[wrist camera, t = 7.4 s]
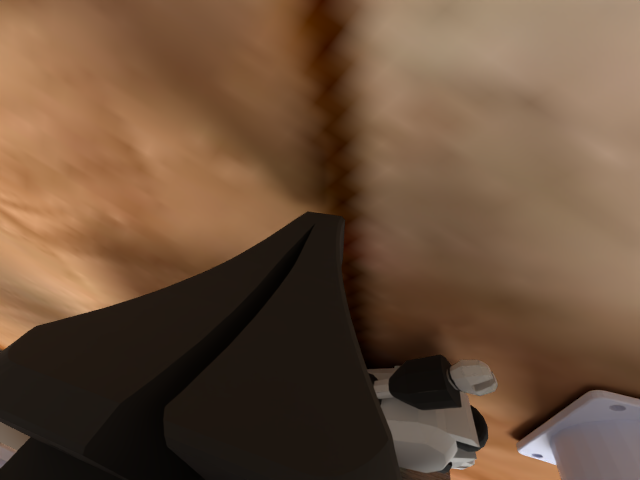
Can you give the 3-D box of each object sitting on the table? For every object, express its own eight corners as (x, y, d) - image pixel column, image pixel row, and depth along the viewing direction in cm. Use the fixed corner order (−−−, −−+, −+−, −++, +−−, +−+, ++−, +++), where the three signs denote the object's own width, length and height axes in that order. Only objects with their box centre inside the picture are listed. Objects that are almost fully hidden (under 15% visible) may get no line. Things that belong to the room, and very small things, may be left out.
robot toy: (486, 304, 12) (216, 301, 17) (527, 410, 9) (169, 371, 13) (464, 419, 19) (276, 396, 23) (482, 507, 15) (256, 459, 20)
